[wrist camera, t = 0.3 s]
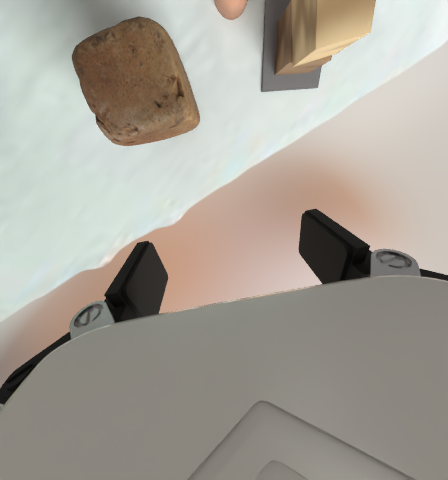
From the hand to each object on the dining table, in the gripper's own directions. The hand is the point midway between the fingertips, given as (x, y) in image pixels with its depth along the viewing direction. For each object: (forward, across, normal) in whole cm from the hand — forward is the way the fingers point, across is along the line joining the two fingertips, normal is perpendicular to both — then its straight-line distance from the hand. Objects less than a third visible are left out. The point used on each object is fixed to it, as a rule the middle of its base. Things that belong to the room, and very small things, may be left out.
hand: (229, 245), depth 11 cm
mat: (+30, -16, -15) cm, 37 cm away
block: (+30, +6, -10) cm, 32 cm away
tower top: (+24, -16, -15) cm, 32 cm away
